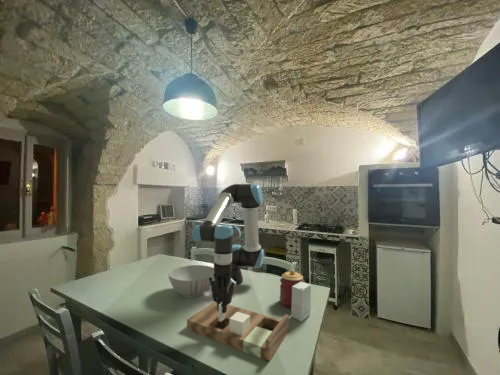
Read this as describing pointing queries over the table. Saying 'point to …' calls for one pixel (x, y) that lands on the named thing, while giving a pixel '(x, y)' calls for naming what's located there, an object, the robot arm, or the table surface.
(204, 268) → the decorative bowl
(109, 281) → the table surface
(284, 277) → the canister
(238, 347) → the board
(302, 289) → the skincare box
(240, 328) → the block
